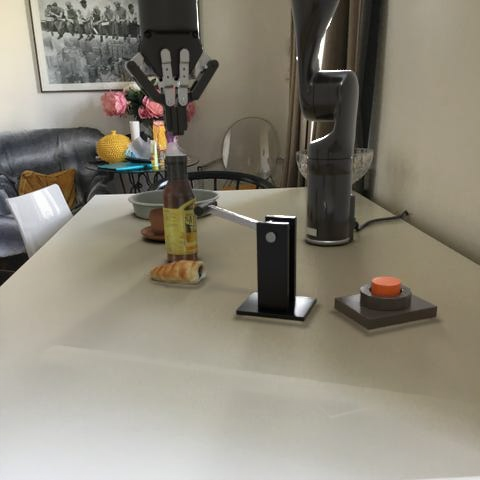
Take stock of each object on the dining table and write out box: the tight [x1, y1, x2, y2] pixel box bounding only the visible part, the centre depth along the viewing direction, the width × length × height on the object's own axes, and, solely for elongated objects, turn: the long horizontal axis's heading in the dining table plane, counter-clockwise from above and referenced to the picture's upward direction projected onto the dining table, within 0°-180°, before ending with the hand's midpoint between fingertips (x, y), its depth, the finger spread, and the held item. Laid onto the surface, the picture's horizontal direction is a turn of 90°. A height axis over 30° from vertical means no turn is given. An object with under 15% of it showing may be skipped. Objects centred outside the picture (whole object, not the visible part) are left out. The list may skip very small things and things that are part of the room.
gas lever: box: [194, 199, 290, 230], centre depth 80 cm, size 13×6×2 cm, turn 70°
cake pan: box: [127, 188, 221, 220], centre depth 153 cm, size 25×25×4 cm
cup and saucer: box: [140, 208, 165, 242], centre depth 126 cm, size 12×12×6 cm
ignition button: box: [370, 276, 402, 296], centre depth 79 cm, size 4×4×2 cm
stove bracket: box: [235, 214, 318, 323], centre depth 81 cm, size 10×8×14 cm
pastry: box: [149, 260, 207, 286], centre depth 97 cm, size 9×7×4 cm
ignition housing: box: [333, 282, 438, 331], centre depth 80 cm, size 11×9×4 cm
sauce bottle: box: [162, 153, 199, 263], centre depth 107 cm, size 6×6×20 cm
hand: (176, 135), depth 78 cm, fingers closed
